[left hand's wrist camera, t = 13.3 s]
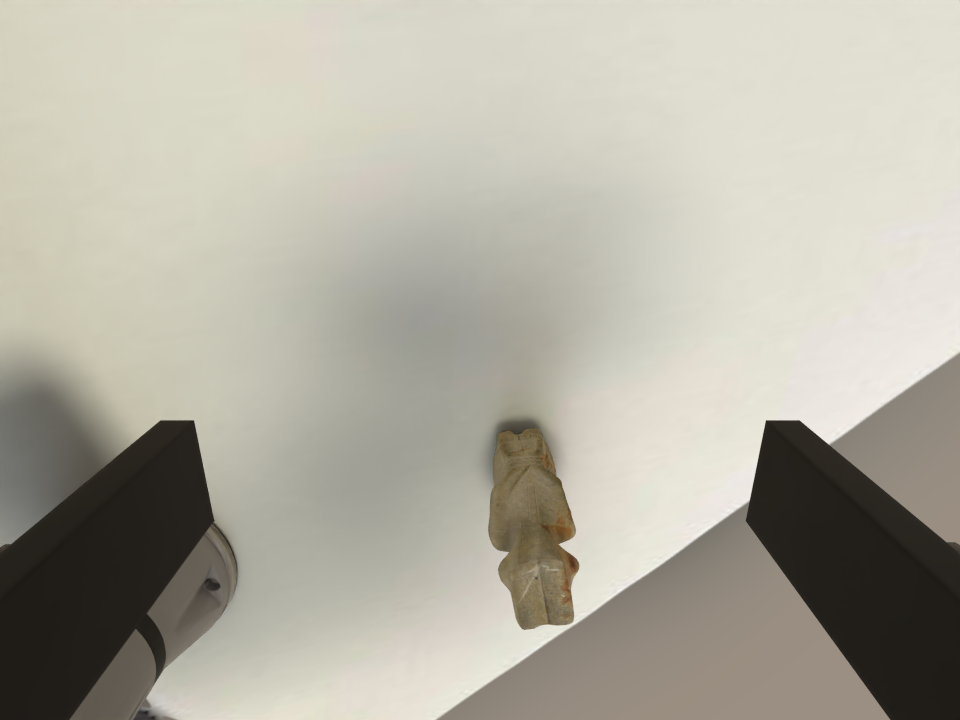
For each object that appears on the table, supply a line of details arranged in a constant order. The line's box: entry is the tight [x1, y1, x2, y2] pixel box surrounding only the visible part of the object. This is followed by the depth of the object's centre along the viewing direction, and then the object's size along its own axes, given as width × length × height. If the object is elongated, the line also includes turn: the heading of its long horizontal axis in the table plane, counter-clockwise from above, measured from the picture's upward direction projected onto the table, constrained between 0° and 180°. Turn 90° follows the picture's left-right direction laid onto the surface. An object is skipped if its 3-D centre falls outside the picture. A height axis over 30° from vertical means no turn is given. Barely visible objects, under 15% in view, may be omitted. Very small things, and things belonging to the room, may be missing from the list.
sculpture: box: [488, 428, 579, 630], centre depth 38 cm, size 6×7×15 cm
